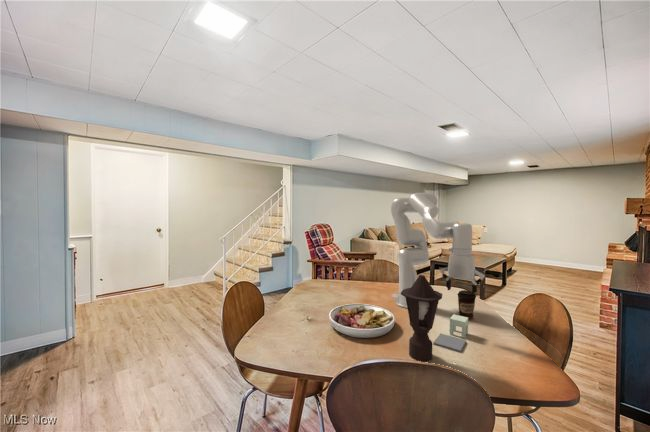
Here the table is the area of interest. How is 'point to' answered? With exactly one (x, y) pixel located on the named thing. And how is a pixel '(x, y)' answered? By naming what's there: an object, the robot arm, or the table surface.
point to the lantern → (421, 317)
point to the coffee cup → (466, 303)
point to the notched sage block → (459, 324)
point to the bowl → (361, 320)
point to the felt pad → (450, 342)
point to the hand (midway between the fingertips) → (461, 291)
